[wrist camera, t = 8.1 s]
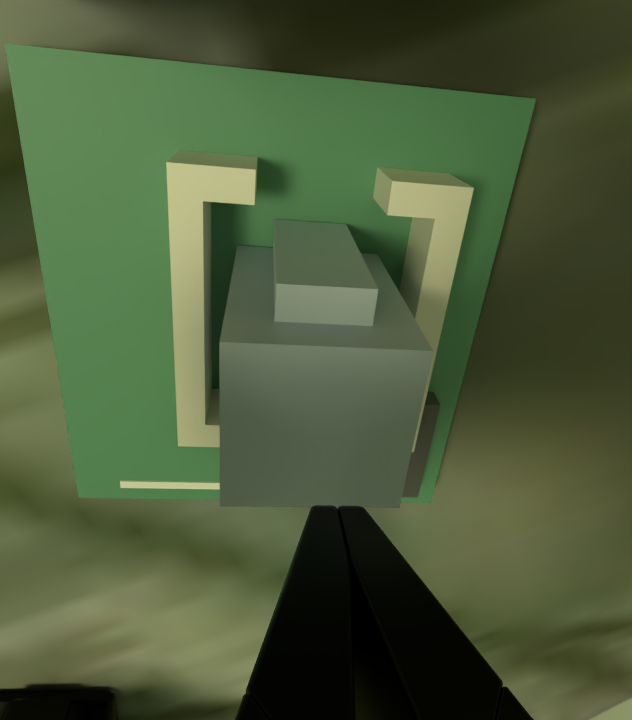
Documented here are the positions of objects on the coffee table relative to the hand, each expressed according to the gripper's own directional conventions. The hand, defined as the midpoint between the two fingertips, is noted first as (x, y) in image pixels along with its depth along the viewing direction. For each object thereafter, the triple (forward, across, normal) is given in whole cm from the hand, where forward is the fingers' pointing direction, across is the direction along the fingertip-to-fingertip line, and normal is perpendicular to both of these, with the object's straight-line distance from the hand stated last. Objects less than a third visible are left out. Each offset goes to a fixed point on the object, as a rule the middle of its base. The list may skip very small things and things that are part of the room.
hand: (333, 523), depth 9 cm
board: (+10, +1, +1) cm, 10 cm away
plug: (+8, 0, 0) cm, 8 cm away
